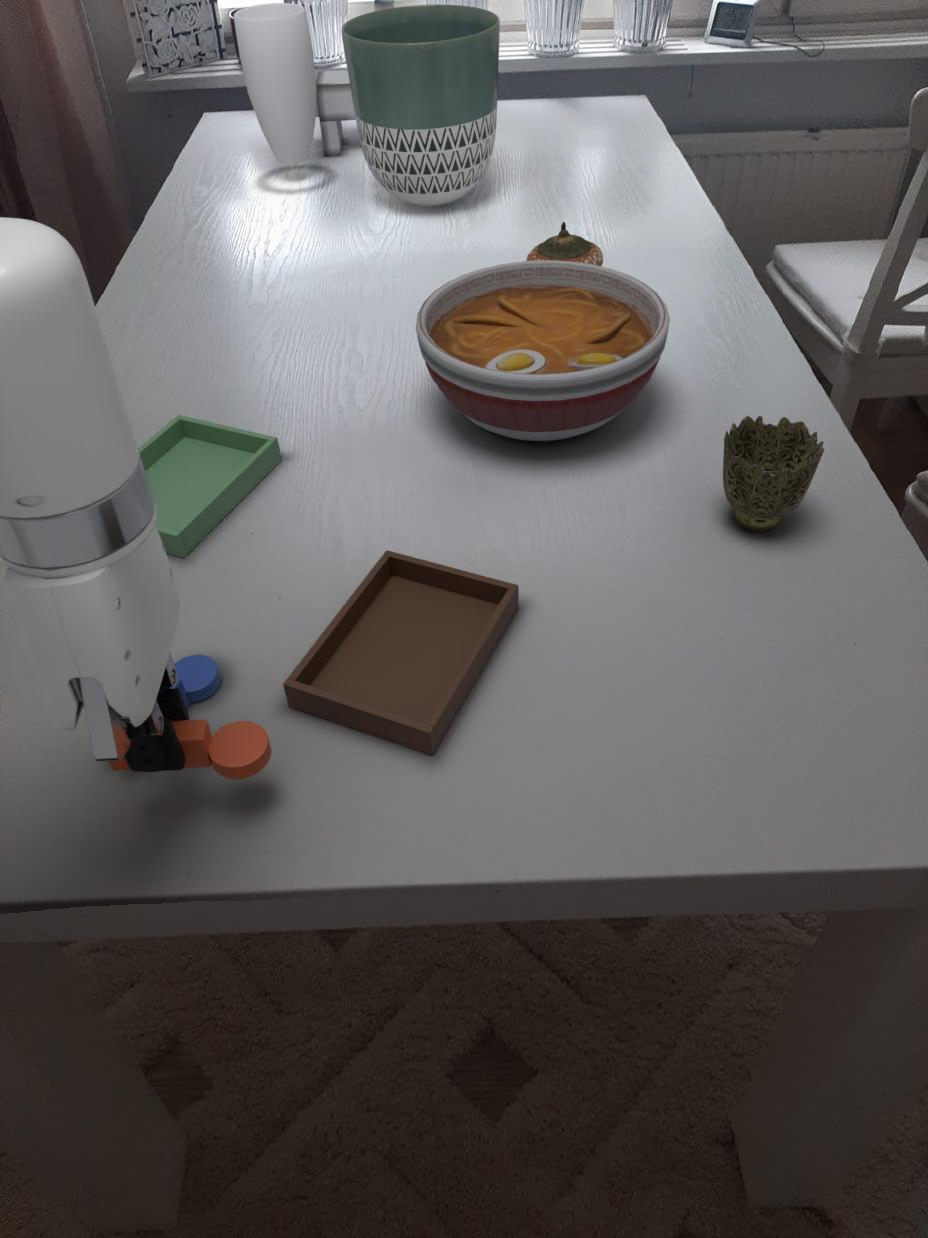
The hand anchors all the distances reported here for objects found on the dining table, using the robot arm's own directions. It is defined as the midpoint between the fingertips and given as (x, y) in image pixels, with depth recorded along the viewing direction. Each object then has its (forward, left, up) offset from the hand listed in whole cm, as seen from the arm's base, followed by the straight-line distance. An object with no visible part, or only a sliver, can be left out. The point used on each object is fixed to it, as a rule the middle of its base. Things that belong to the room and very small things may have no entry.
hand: (162, 750), depth 56 cm
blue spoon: (+5, +5, -5) cm, 9 cm away
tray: (+17, -8, -5) cm, 19 cm away
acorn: (+71, 0, -5) cm, 72 cm away
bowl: (+51, -5, -5) cm, 52 cm away
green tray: (+27, +20, -5) cm, 35 cm away
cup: (+98, +52, -5) cm, 112 cm away
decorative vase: (+41, -28, -5) cm, 50 cm away
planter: (+97, +29, -5) cm, 102 cm away
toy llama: (+114, +49, -5) cm, 125 cm away
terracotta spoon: (+1, -1, -1) cm, 2 cm away
